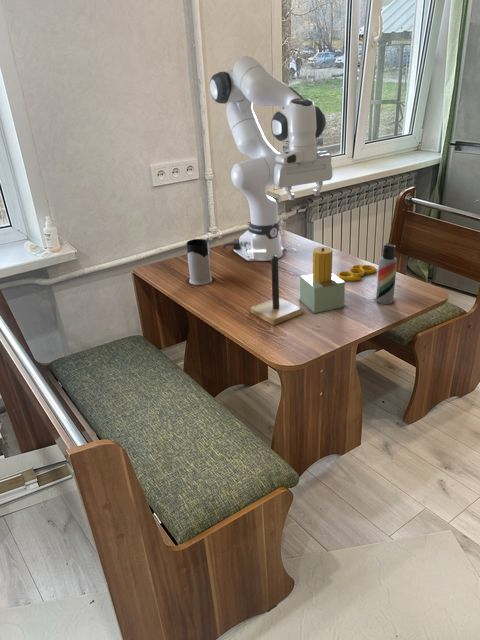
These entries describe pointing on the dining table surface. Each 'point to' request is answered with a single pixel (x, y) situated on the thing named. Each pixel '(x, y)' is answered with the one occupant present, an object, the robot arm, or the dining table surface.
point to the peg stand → (275, 302)
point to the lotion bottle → (386, 275)
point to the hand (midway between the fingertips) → (304, 197)
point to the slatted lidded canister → (323, 266)
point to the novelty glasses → (356, 276)
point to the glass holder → (199, 261)
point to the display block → (321, 294)
